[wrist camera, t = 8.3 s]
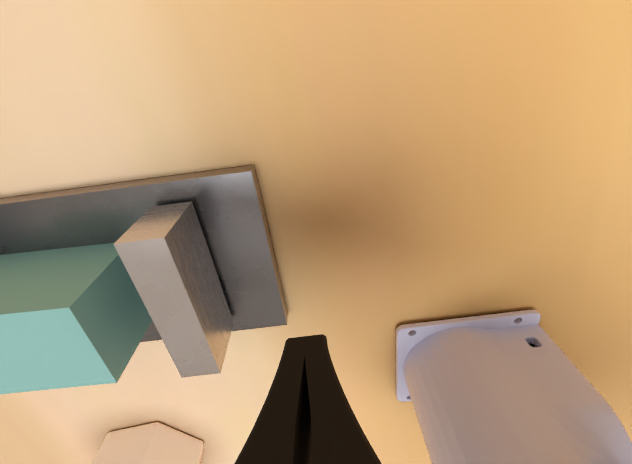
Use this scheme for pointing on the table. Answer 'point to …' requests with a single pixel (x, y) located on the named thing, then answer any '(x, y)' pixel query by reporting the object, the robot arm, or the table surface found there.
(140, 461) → the jar
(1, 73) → the table surface
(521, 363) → the robot arm
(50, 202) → the vise
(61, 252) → the block
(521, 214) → the table surface
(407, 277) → the table surface
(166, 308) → the jaw
